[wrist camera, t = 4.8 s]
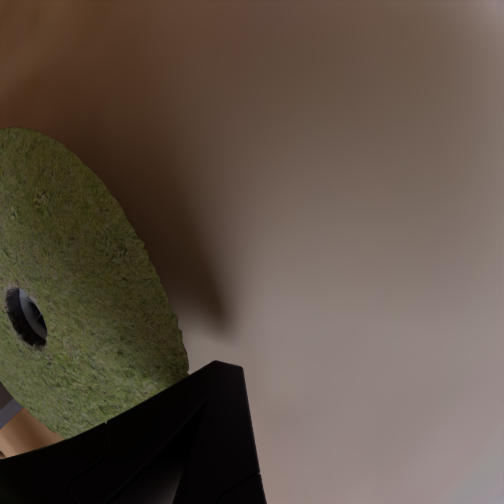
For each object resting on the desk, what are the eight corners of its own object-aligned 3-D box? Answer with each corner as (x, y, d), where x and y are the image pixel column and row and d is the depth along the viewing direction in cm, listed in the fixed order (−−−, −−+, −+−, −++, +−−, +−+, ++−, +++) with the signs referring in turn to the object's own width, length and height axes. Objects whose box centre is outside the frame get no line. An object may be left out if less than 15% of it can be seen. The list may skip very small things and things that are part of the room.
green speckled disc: (277, 197, 7) (262, 213, 5) (173, 461, 11) (156, 495, 9) (-9, 106, 8) (-48, 107, 6) (-11, 336, 12) (-35, 353, 10)
